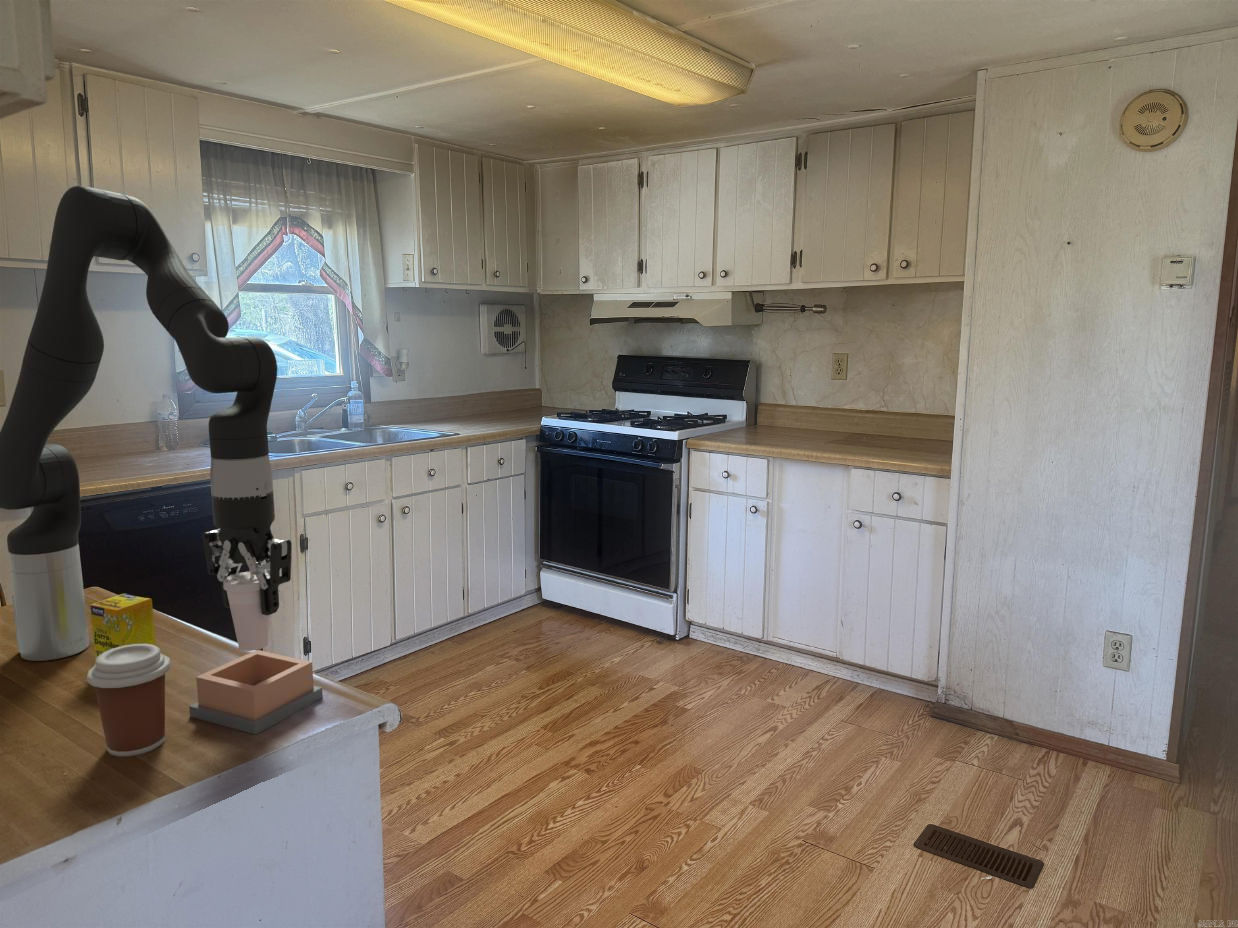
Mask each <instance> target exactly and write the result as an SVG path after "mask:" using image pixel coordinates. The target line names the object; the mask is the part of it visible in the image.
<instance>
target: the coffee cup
mask: <svg viewBox="0 0 1238 928" xmlns="http://www.w3.org/2000/svg"><path fill="white" fill-rule="evenodd" d="M94 661H95V662H94V663H95V664H94V665H93V667H91V668H90V669H89V670H88V672H87V676H86V682H87V683H88V684H89V685H90V686H91V687H94V691H95V692H94V693H95V696H96V700H97V701H96V702H97V704H98V705H97V706H98V709H99V714H100V719H101V724H102V729H103V734H104V739H105V743H106V750H107V753H109V755H110V756H115V757H132V756H138V755H139V756H140V755H143V754H145V753H148V752H151V751H153V750H155V749H157V748H158V747H160V746H161V745H163V743H164V742H166V673H167V672H169V670H171V659H170V657H169V656H167V655H166V654H163V653H161V648H159V646H157V645H156V646H155V645H151V644H132V645H125V646H121V647H117V648H113V649H111V650H108V651H106V652H103V653H102V654H101V655H99V656H98V657H97V658H96V659H95V660H94Z"/></svg>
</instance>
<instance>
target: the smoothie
mask: <svg viewBox="0 0 1238 928" xmlns="http://www.w3.org/2000/svg"><path fill="white" fill-rule="evenodd" d="M264 572H265V574H266V577H267V579H268V578H270V576H269V574H268V572H267V571H264ZM223 583H224V586H223V588H224V589H225V590H226V591H227V595H228V600H229V604H230V608H229V609H230V612H231V617H232V618H231V619H232V622H233V627H234V631H235V635H236V640H237V645H238V649H239V650H241V651H245V652H246V651H247V652H251V651H252V652H253V651H256V650H262V649H263V648H266V647H267V646H269V635H270V621H271V620H270V619H271V615H268V616H267V615H263V614H262V613H261V599H260V589H262V588H261V586H260V584H259V581H258V579H257V577H256V575H254V574H252V573H251V571H250V570H249V571H245V572H244V571H243V572H239V573H238V574H234V575H231V576H228V577H227V578H225V579H224V580H223Z"/></svg>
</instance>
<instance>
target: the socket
mask: <svg viewBox="0 0 1238 928" xmlns="http://www.w3.org/2000/svg"><path fill="white" fill-rule="evenodd" d="M313 669H314V668H313V662H312V661H309V660H305V659H301V658H298V657H297V658H296V657H291V656H288V655H287V656H286V655H282V654H278V653H272V652H269V651H264V650H262V649H259V650H253V651H252V652H251V651H250V653H247V654H245V655H243V656H239V657H238V658H236V659H234V660H231V661H229V662H227V663H224V664H222V665H220V666H218V667H216V668H213V669H211V670H208V671H207V672H205V673H204V672H203V673H202V674H199V675H197V676H196V677H195V679H196V681H195V682H196V690H197V691H196V692H197V702H195V703H193V704H190V705H188V709H189V716H190V717H192V718H195V719H197V720H198V719H199V720H201V719H202V721H206V722H209V723H212V724H216V725H221V726H224V727H227V728H231V729H235V730H239V731H241V730H242V732H245V733H249V734H252V735H258V734H260V733H261V732H263V731H265V730H266V729H269V728H271V727H272V726H274V725H275V724H278V723H279V722H281V721H283V720H285V719H287V718H288V717H290V716H292V715H294V714H296V713H298V712H299V711H301V710H302V709H304V708H306V707H308V706H310V705H312V704H313V703H315V702H317V701H319V700H320V699H323V695H324V694H323V687H321V686H317V685H315V684H314V671H313Z"/></svg>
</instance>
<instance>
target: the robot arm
mask: <svg viewBox="0 0 1238 928" xmlns="http://www.w3.org/2000/svg"><path fill="white" fill-rule="evenodd" d="M169 239H170V238H169V237H168V236H167V235H166V232H165V231H164V230H163V227H162V226H161V224H160V223H159V221H158V219H157V218H156V216H155V215H154V213H153V212H152V211H151V209H150V208H149V206H147V205H146V204H145V203H144V202H143V201H142V200H140V199H139V198H136V197H134V196H131V195H127V194H123V193H118V192H114V191H110V190H104V189H101V188H96V187H89V186H84V185H74V186H72V187H70V188H68V189H67V190H66V191H64V193H63V195H62V197H61V199H60V201H59V203H58V205H57V209H56V213H55V217H54V223H53V228H52V234H51V240H50V245H49V246H50V247H49V252H48V259H47V265H46V271H45V276H44V281H43V282H44V283H43V287H42V290H41V294H40V298H39V302H38V305H37V306H38V307H37V310H36V314H35V317H34V320H33V324H32V326H31V330H30V332H29V336H28V339H27V343H26V347H25V349H24V354H23V357H22V363H21V368H20V372H19V376H18V379H17V383H16V386H15V389H14V392H13V396H12V398H11V402H10V405H9V408H8V412H7V414H6V416H5V420H4V421H3V425H2V426H1V428H0V509H4V510H9V511H11V510H13V511H14V510H22V509H28V508H33V509H32V512H31V513H30V515H29V516H28V517H27V518H26V519H25V520H24V521H23V522H22V523H20V524H19V525H18V526H16V527H14V528H13V529H12V530H10V532H9V533H8V534H7V537H6V543H7V551H8V558H9V559H8V560H9V567H10V573H11V584H12V590H13V591H12V592H13V595H12V596H11V603H12V609H13V610H12V611H13V618H14V626H15V634H16V635H15V636H16V643H17V652H18V653H20V656H21V658H22V659H23V660H25V661H32V662H42V661H52V660H57V659H58V660H59V659H62V658H66V657H70V656H73V655H76V654H78V653H80V652H82V651H84V650H86V649H87V648H88V647H89V645H90V640H89V639H90V638H89V630H88V621H87V612H86V611H87V610H86V608H87V607H86V601H85V593H84V592H85V591H84V581H83V573H82V565H81V564H82V563H81V556H80V555H81V553H80V545H79V532H80V529H81V524H82V510H81V484H80V477H79V476H80V474H79V470H78V466H77V463H76V461H75V459H74V458H75V457H74V456H73V454H71V452H70V450H68V449H67V448H65V446H62V445H60V444H56V443H48V444H47V441H48V439H49V437H50V436H51V433H53V431H54V430H55V429H56V427H58V425H60V423H61V422H62V421H63V420H65V418H66V417H67V416H68V415H69V413H71V412H72V411H73V410H74V409H75V408H76V406H78V404H79V403H81V401H82V400H83V399H85V397H86V395H87V394H88V393H89V392H90V390H91V388H92V387H93V385H94V383H95V381H96V377H97V373H98V371H99V367H100V364H101V361H102V358H103V355H104V354H103V353H104V349H105V342H104V341H105V340H104V336H103V335H104V334H103V332H102V330H101V329H102V328H101V326H100V324H99V321H98V319H97V316H96V315H95V312H94V310H93V307H92V305H91V303H90V300H89V297H88V291H87V284H88V283H87V282H88V274H89V269H90V266H91V264H92V260H93V259H94V257H96V258H97V257H98V258H103V259H109V260H110V259H111V260H116V261H128V262H130V263H132V264H133V265H135V266H136V267H137V268H138V269H140V270H141V271H142V272H143V273H144V274H145V275H146V276H147V280H146V281H147V282H146V287H145V288H146V289H145V294H146V295H145V296H146V301H147V305H148V307H149V309H150V311H151V313H152V315H153V316H154V318H156V319H157V321H158V322H159V323H160V324H161V326H162V327H163V328H164V329H165V330H166V331H167V333H168V335H170V337H172V338H173V339H174V341H175V343H176V345H177V348H178V349H179V352H180V355H181V356H182V359H183V363H184V365H185V368H186V371H187V373H188V376H189V378H190V380H191V381H192V382H193V383H194V385H196V386H197V387H198V388H200V389H201V390H203V391H205V392H208V393H211V394H228V393H236V395H235V398H234V401H233V403H232V405H231V406H229V407H228V408H225V409H223V410H220V411H218V412H216V413H214V414H212V415H211V416H210V417H209V419H208V437H209V448H210V449H209V450H210V451H209V452H210V467H209V468H210V469H209V479H210V490H211V491H210V493H211V494H210V495H211V503H212V504H211V505H212V506H211V507H212V517H213V525H214V526H215V527H216V529H213V530H210V531H206V532H203V533H202V535H201V539H202V544H203V550H204V551H203V552H204V557H205V563H206V569H207V573H208V575H210V576H215V577H217V580H218V581H219V582H220V588H221V599H222V602H223V606H224V607H225V608H229V609H230V604H229V600H228V595H227V591H226V590H225V589H224V588H223V586H224V583H223V580H224V579H225V578H227V577H228V576H231V575H234V574H238V573H240V569H241V567H242V565H244V566H247V567H248V569H249V572H250V571H251V573H252V574H254V575H256V577H257V579H258V581H259V584H260V586H261V588H262V589H260V599H261V613H262V614H263V615H267V616H268V615H270V616H271V615H273V614H275V613H277V612H278V609H280V601H279V600H280V597H279V596H280V595H279V586H280V585H282V584H286V583H288V582H290V581H291V579H292V577H291V576H292V575H291V574H292V573H291V572H292V541H291V540H290V539H289V538H286V539H282V540H280V539H277V538H275V537H274V535H273V532H272V529H271V527H272V524H273V523H274V522H275V519H276V514H275V499H274V498H275V497H274V484H273V471H272V466H271V461H270V460H271V459H270V455H269V454H270V452H269V441H268V440H269V437H268V436H269V435H268V420H269V415H270V411H271V406H272V402H273V397H274V393H275V392H274V391H275V387H276V384H277V379H278V362H277V358H276V355H275V352H274V351H273V349H272V347H271V346H270V345H269V343H268V342H266V340H263V339H262V338H259V337H254V336H244V337H243V336H239V337H237V336H236V337H235V336H233V337H227V336H228V333H229V331H230V329H229V327H230V323H229V320H228V318H227V316H226V314H225V313H224V311H223V310H222V309H221V308H220V307H219V306H218V305H217V304H216V303H215V302H214V300H213V299H212V297H210V296H209V295H208V294H207V293H206V291H205V290H204V289H203V288H202V287H201V286H200V285H199V284H198V282H197V281H196V280H195V279H194V278H193V277H192V275H191V274H190V273H189V271H188V270H187V268H186V266H185V265H184V264H183V261H182V260H181V258H180V256H179V254H178V253H177V251H176V249H175V248H174V246H173V244H172V242H171V241H170V240H169ZM216 557H217V560H218V561H217V562H218V564H216ZM264 561H265V563H264V564H262V565H261V563H263V562H264ZM280 571H281V572H280ZM265 572H268V574H269V576H270V578H268V579H267V577H266V574H265Z"/></svg>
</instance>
